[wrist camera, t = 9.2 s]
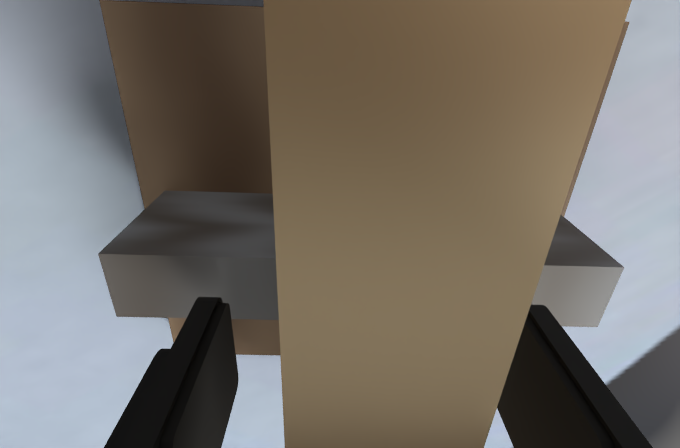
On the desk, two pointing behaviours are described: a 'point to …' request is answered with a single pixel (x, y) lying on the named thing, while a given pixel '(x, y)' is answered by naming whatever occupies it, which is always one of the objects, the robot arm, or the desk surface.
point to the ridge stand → (244, 178)
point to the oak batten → (419, 201)
